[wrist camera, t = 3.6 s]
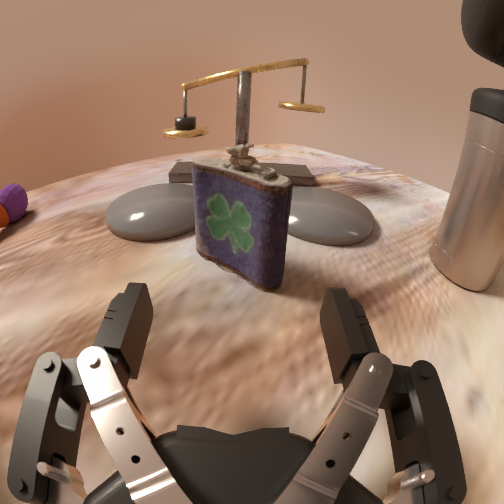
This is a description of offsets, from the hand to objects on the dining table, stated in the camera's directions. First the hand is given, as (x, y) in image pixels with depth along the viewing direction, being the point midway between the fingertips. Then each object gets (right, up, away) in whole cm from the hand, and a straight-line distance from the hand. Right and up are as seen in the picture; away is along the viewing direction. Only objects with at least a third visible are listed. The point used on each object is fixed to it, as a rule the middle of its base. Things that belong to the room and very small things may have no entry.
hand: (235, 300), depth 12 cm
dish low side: (-11, +7, +20) cm, 24 cm away
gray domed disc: (+9, +7, +21) cm, 24 cm away
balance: (-1, +14, +31) cm, 35 cm away
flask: (-1, +1, +13) cm, 13 cm away
